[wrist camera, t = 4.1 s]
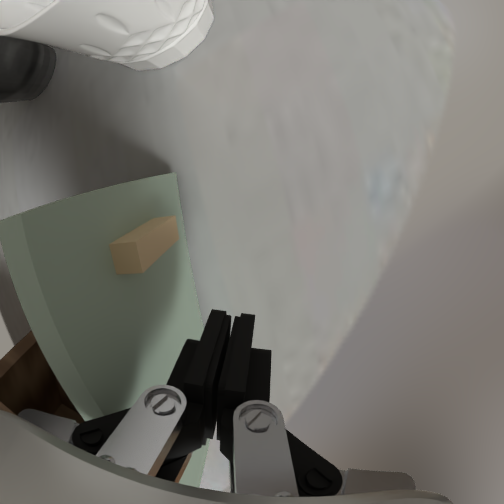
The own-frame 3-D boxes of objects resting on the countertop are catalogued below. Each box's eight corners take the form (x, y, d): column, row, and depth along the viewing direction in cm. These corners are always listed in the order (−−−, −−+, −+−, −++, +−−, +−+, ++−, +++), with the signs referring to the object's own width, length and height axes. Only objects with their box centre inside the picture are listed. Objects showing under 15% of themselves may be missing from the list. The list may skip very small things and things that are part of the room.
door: (206, 398, 19) (175, 515, 10) (155, 175, 14) (-4, 222, 4) (234, 399, 19) (213, 521, 9) (193, 169, 14) (48, 205, 4)
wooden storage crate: (181, 455, 24) (159, 533, 14) (59, 397, 24) (17, 458, 13) (209, 395, 20) (177, 516, 10) (46, 317, 19) (-29, 390, 9)
